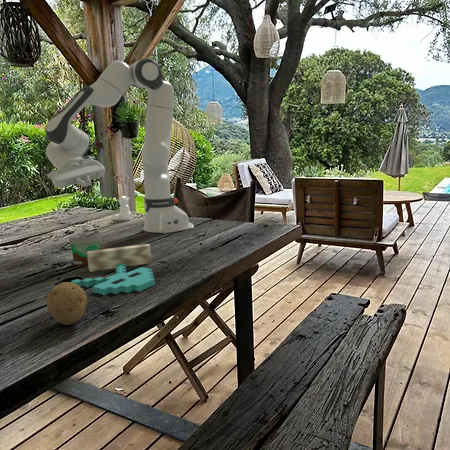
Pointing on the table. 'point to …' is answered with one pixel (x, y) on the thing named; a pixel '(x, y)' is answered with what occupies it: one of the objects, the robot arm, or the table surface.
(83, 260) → the food container
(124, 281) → the alien figure
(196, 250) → the table surface
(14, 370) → the table surface
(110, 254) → the birch board
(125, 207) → the sitting furry creature
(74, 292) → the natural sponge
